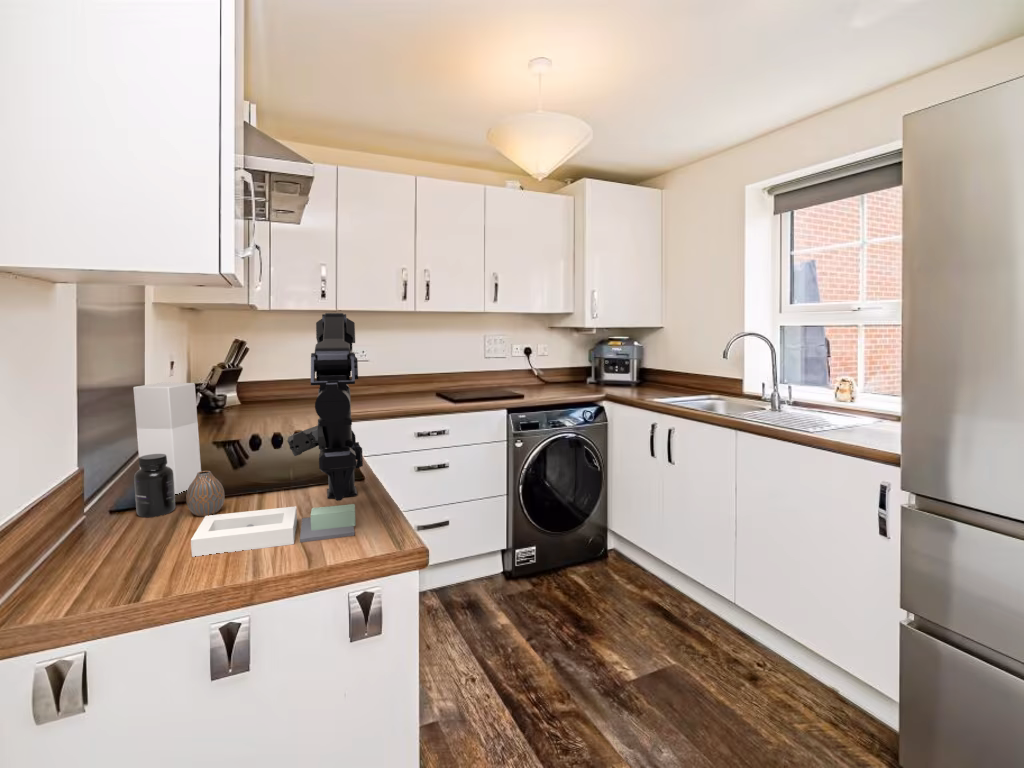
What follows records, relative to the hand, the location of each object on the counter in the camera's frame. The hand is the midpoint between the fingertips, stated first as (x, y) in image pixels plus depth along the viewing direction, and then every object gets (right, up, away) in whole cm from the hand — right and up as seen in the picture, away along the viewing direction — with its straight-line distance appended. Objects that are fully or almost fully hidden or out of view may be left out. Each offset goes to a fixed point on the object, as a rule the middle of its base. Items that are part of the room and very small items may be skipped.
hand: (338, 493), depth 103 cm
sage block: (-1, -6, 0) cm, 6 cm away
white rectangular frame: (-15, -7, -4) cm, 17 cm away
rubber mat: (-2, -7, 0) cm, 7 cm away
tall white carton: (-47, -4, +25) cm, 54 cm away
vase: (-30, -6, +8) cm, 32 cm away
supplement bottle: (-41, -6, +9) cm, 42 cm away
